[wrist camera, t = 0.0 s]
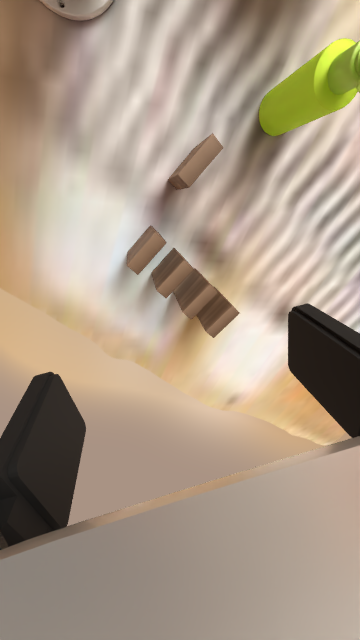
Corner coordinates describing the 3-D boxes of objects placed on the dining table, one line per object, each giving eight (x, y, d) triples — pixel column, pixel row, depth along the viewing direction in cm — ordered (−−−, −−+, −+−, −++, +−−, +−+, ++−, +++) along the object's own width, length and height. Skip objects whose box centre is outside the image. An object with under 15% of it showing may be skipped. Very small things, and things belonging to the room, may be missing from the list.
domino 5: (192, 308, 51) (205, 331, 42) (213, 286, 49) (232, 305, 40) (199, 313, 51) (213, 338, 43) (220, 292, 50) (239, 313, 41)
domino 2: (151, 272, 46) (156, 290, 37) (173, 247, 45) (184, 259, 36) (159, 279, 47) (166, 298, 38) (181, 255, 46) (193, 269, 37)
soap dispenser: (247, 128, 39) (345, 70, 21) (273, 78, 37) (406, -34, 19) (275, 150, 41) (386, 114, 23) (301, 104, 39) (446, 24, 21)
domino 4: (173, 291, 48) (182, 312, 39) (194, 268, 47) (209, 284, 38) (180, 297, 49) (191, 319, 40) (202, 274, 48) (218, 292, 39)
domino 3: (167, 179, 40) (178, 174, 31) (194, 148, 39) (212, 133, 30) (176, 189, 41) (189, 187, 32) (202, 159, 40) (223, 147, 31)
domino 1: (127, 251, 44) (126, 265, 35) (150, 225, 42) (155, 232, 34) (136, 259, 45) (138, 274, 36) (159, 233, 43) (166, 242, 34)
